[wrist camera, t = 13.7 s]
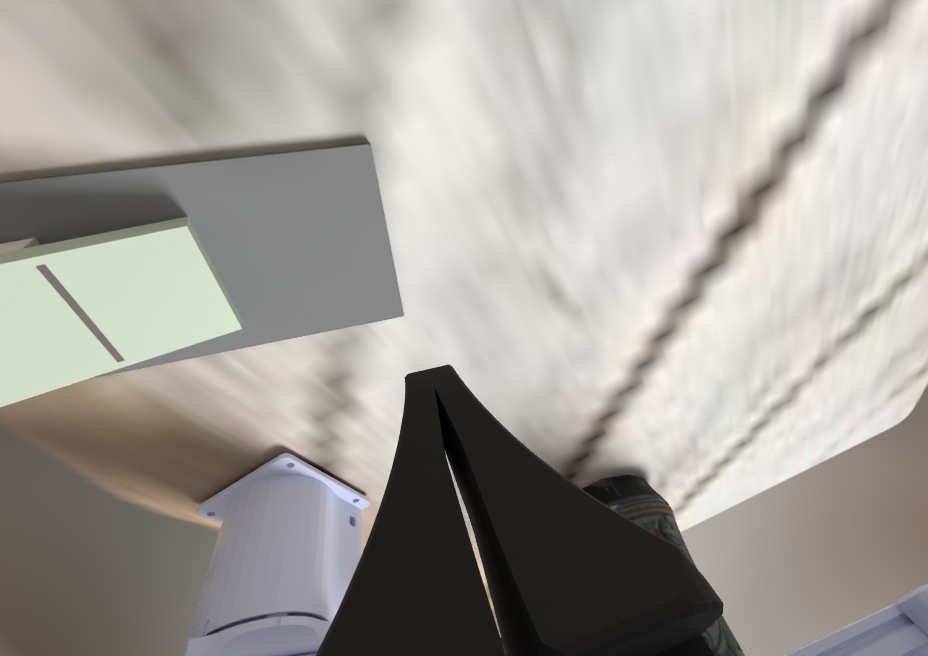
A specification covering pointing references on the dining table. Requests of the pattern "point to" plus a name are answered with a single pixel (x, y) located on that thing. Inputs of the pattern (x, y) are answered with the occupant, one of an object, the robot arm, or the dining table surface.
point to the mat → (242, 234)
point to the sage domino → (105, 305)
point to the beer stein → (658, 518)
